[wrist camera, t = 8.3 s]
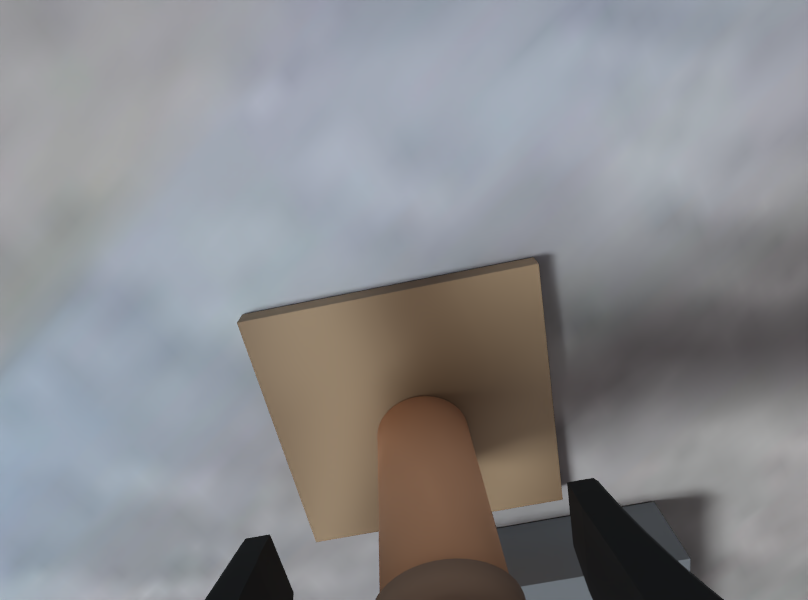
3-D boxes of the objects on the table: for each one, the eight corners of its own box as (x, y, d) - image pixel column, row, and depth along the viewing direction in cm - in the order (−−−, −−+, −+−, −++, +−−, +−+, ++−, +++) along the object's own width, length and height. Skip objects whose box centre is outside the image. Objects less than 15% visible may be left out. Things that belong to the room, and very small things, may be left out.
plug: (384, 484, 18) (391, 716, 11) (359, 403, 16) (352, 614, 10) (481, 463, 17) (545, 686, 11) (464, 380, 16) (526, 578, 10)
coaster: (318, 529, 19) (316, 542, 19) (242, 314, 16) (236, 322, 15) (557, 487, 19) (562, 499, 18) (533, 257, 15) (538, 263, 15)
